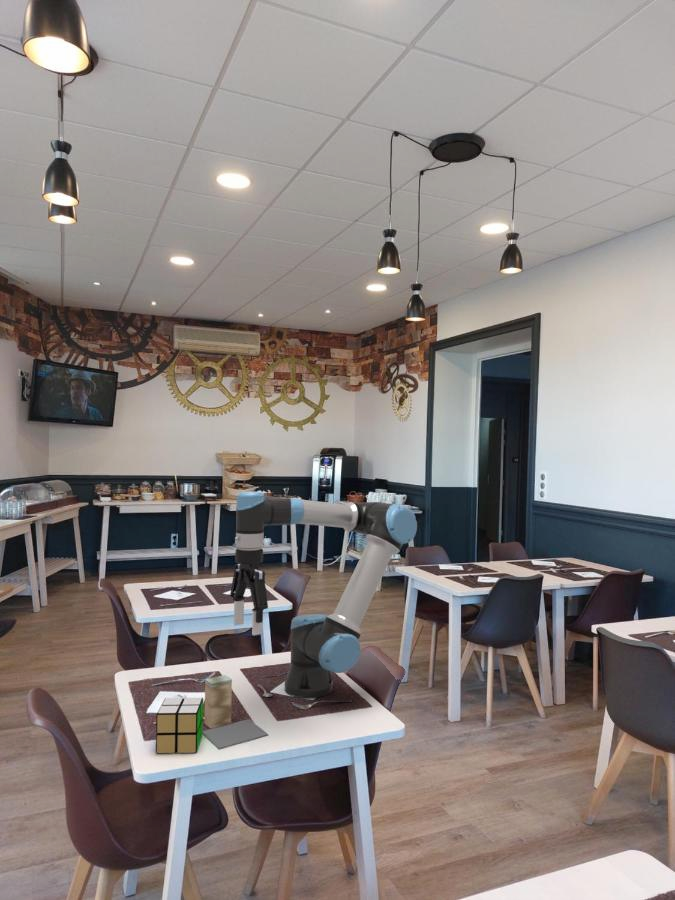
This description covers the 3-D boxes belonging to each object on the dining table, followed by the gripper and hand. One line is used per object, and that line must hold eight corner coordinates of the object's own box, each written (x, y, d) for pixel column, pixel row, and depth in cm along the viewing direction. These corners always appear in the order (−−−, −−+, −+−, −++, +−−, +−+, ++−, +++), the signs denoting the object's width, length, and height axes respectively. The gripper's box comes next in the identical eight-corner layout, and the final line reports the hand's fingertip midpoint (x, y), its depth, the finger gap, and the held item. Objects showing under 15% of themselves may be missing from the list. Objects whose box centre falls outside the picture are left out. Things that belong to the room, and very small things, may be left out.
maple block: (224, 718, 170) (225, 674, 170) (231, 723, 166) (231, 679, 166) (204, 723, 166) (205, 679, 166) (210, 728, 163) (211, 683, 163)
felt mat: (249, 720, 168) (249, 719, 168) (268, 735, 159) (268, 734, 159) (201, 732, 160) (201, 731, 160) (218, 749, 151) (218, 748, 151)
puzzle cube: (164, 735, 158) (164, 697, 159) (202, 735, 159) (203, 697, 159) (155, 754, 148) (156, 713, 149) (196, 753, 149) (197, 713, 149)
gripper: (219, 543, 173) (217, 621, 173) (256, 555, 155) (255, 642, 154) (242, 542, 178) (241, 617, 177) (282, 552, 159) (280, 637, 159)
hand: (247, 629), depth 166 cm, fingers open, 10 cm apart
